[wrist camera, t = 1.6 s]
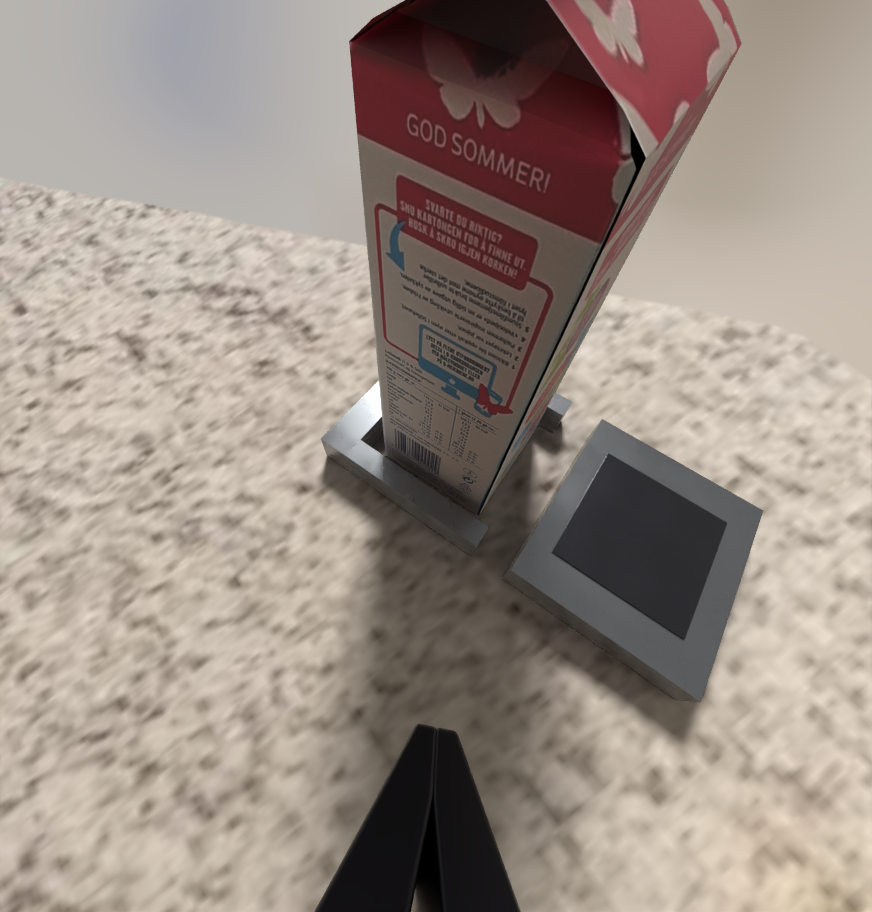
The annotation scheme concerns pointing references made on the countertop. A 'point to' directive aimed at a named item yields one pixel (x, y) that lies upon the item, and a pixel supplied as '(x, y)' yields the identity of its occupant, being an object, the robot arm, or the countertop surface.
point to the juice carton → (511, 200)
